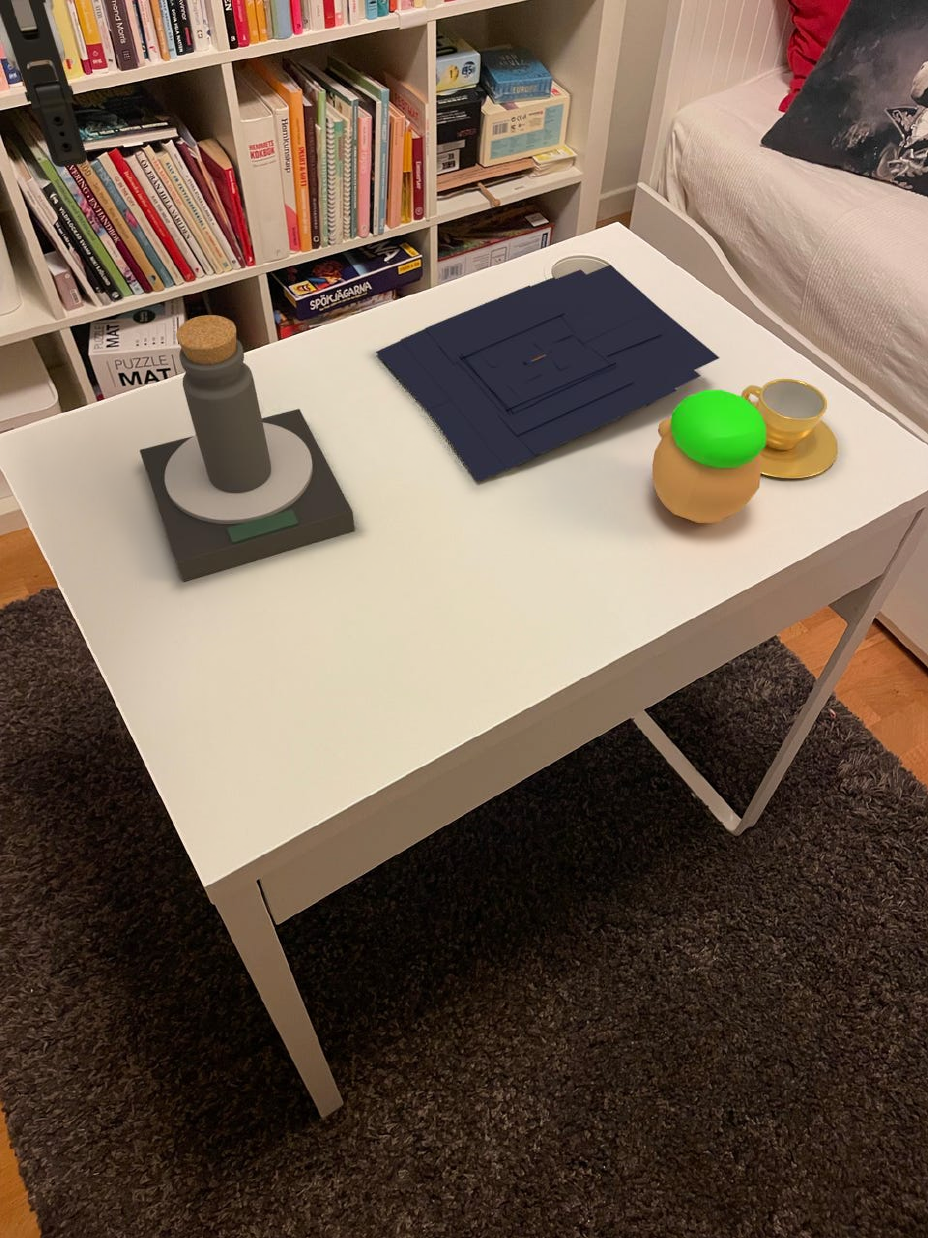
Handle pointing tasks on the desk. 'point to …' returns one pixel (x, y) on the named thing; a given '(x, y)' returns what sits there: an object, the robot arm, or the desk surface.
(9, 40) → the robot arm
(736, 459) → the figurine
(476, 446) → the papers
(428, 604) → the desk surface
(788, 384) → the cup
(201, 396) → the bottle
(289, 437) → the scale
